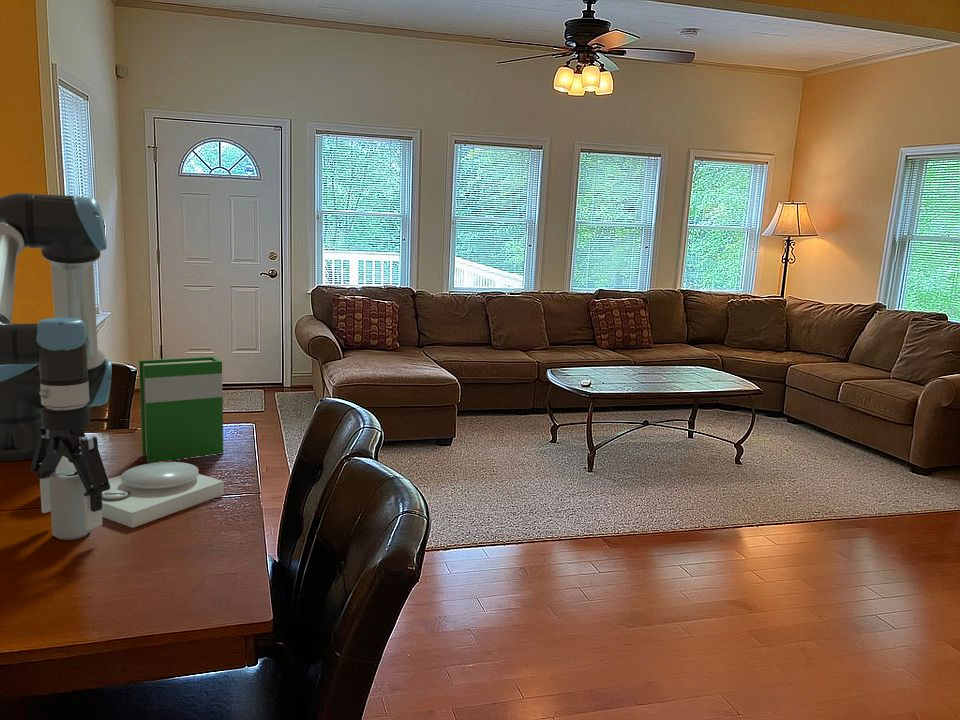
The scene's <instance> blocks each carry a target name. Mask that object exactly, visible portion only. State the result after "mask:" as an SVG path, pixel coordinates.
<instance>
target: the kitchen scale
mask: <svg viewBox="0 0 960 720" xmlns="http://www.w3.org/2000/svg"><path fill="white" fill-rule="evenodd" d="M199 470H200V469H199V468H198V467H197V466H196V465H194V464H191V463H187V462H182V461H169V462H157V463H149V464H147V463H146V464H145V463H144V464H141V465H137V466H133V467H131V468H128V469H127V470H125V471H123V472H122V474H121V475H117V476H114V477H111V478H108V481H109V484H110V489H109V490H107V491H103V492H102V518H105V519H106V520H110V521H113V522H115V523H118V524H121V525H123V526H127V527H129V528H131V529H133V528H136V527H138V526H142V525H144V524H147V523H149V522H152V521H155V520H157V519H160V518H163V517H166V516H169V515H171V514H174V513H177V512H180V511H183V510H185V509H188V508H191V507H194V506H196V505H199V504H202V503H204V502H207V501H210V500H212V499H215V498H218V497H220V496H223V495H225V482H224V480H220V479H217V478H215V477H211V476H207V475H204V474H200V473H199ZM102 485H103V484H102ZM91 486H92V485H91Z"/></svg>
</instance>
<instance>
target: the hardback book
mask: <svg viewBox="0 0 960 720" xmlns="http://www.w3.org/2000/svg"><path fill="white" fill-rule="evenodd" d="M138 363H139V364H138V365H139V366H138V367H139V369H138V370H139V392H140V394H139V395H140V398H139V399H140V424H141V425H140V427H141V449H142V450H141V452H142V453H141V454H142V455H143V456H144V455H147V456H146V464H147V463H153V462H159V461H167V460H177V459H184V458H191V457H196V456H205V455H210V454H211V455H212V454H219V453H223V454H224V417H223V416H224V415H223V414H224V413H223V408H224V407H223V406H224V404H223V361H222V360H220V359H219V358H217V357H216V356H201V357H200V356H199V357H198V356H197V357H181V358H179V357H178V358H162V359H159V358H158V359H142V360H141V359H140V360H139V361H138ZM143 456H142V457H143ZM144 457H145V456H144ZM177 461H178V460H177Z"/></svg>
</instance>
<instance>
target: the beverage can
mask: <svg viewBox="0 0 960 720" xmlns="http://www.w3.org/2000/svg"><path fill="white" fill-rule="evenodd" d="M51 477H52V478H51V479H50V481H49V489H50V505H51V511H50V519H51V520H50V521H51V533H52V536H53V537H55V538H57V539H58V540H61V541H62V540H63V541H72V540H78V539H81V538H83V537H85V536H87V535H88V534H89V533H90V532H91V531H92V529H89V530H87V529H85V508H84V495H83V494H84V493H86V492H87V491H86V489H85V487H84V485H83V483H82V481H81V479H80V477H79V475H78V473H77V471H76V468H67V469H62V470H58V471H55V472H53V473H52V474H51Z"/></svg>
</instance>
